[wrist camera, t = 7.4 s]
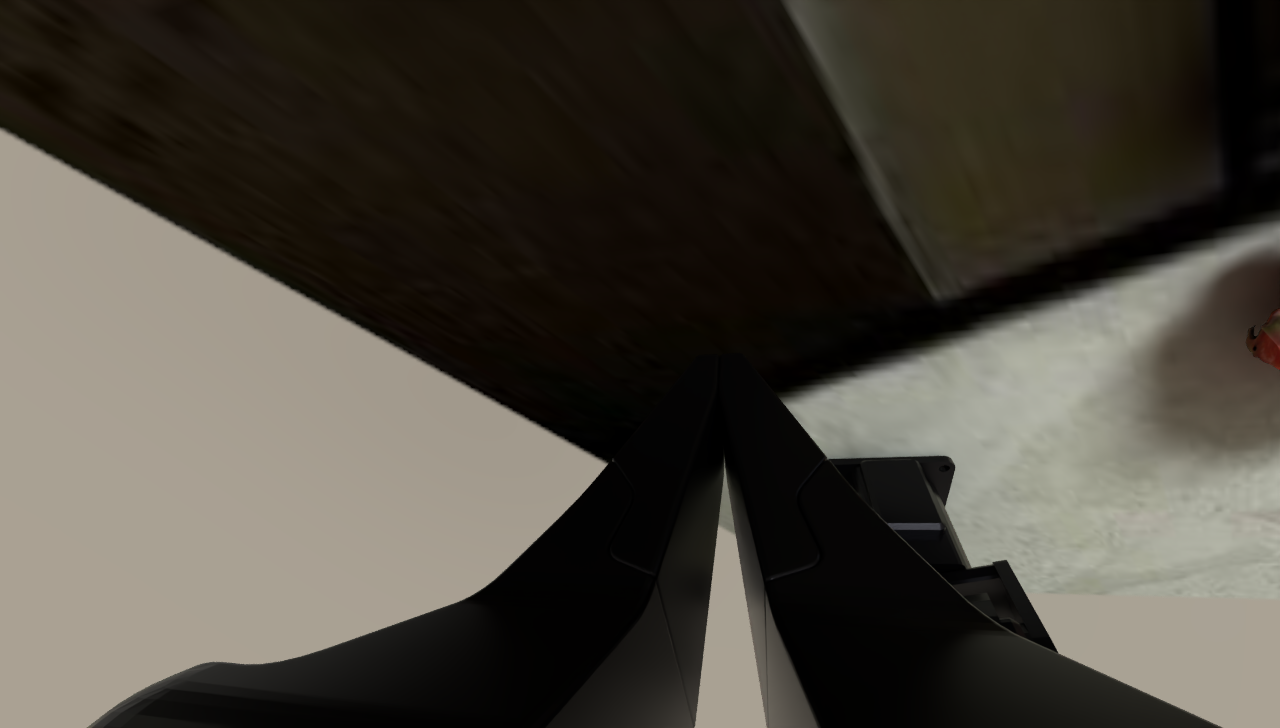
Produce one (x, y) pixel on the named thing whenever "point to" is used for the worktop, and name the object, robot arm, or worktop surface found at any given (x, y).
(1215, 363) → the worktop surface
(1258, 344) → the dragon fruit
